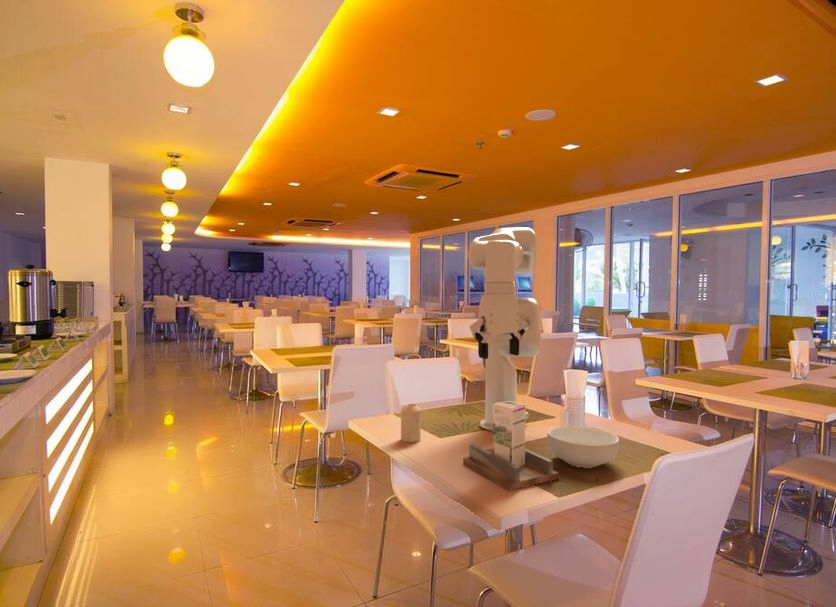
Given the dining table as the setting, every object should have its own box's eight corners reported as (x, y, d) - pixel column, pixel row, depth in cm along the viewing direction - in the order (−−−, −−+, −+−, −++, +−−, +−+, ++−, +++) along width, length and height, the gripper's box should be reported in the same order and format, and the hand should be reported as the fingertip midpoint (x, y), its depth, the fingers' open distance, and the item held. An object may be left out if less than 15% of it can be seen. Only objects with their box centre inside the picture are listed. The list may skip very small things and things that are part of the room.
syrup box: (526, 464, 117) (526, 403, 117) (511, 471, 113) (512, 407, 112) (505, 458, 121) (506, 399, 121) (491, 464, 117) (491, 403, 116)
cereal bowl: (634, 471, 117) (634, 441, 117) (572, 478, 113) (573, 447, 113) (589, 449, 134) (590, 423, 134) (534, 454, 129) (534, 427, 129)
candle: (418, 443, 138) (418, 407, 137) (398, 442, 139) (399, 406, 138) (422, 437, 143) (422, 403, 143) (403, 436, 144) (403, 402, 144)
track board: (509, 455, 128) (509, 438, 128) (558, 479, 112) (559, 459, 112) (463, 463, 122) (463, 445, 122) (508, 490, 106) (508, 469, 106)
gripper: (517, 288, 133) (516, 351, 135) (462, 289, 125) (462, 357, 127) (536, 289, 127) (535, 355, 128) (479, 291, 119) (479, 362, 120)
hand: (499, 356), depth 127 cm, fingers open, 9 cm apart
